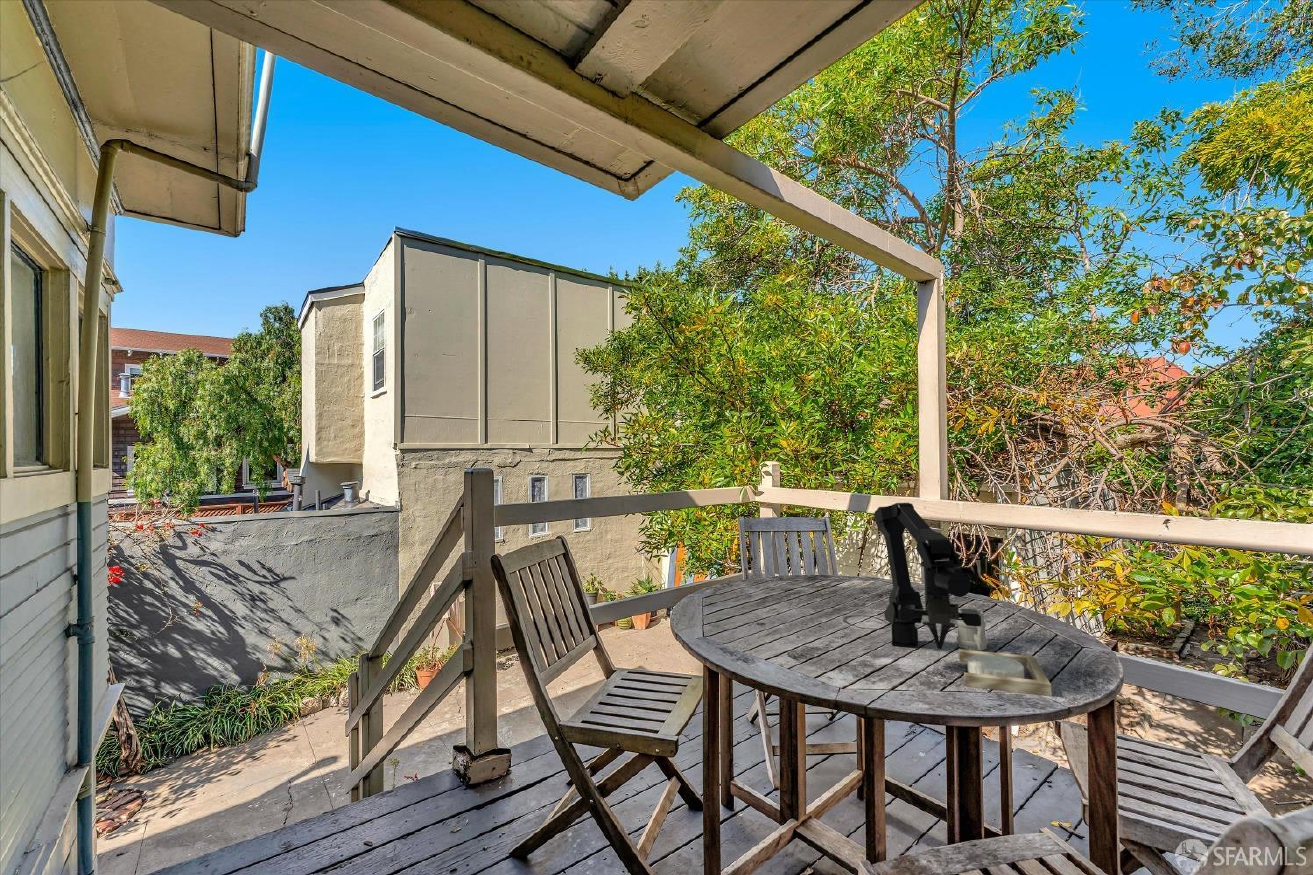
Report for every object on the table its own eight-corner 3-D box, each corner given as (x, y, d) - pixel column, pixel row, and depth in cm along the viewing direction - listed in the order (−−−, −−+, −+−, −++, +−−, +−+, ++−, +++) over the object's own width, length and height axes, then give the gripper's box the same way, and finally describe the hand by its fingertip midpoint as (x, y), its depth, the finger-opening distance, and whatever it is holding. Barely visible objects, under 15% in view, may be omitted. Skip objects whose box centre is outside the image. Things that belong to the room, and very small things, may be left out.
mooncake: (999, 664, 148) (998, 650, 148) (1037, 682, 136) (1036, 667, 136) (957, 668, 146) (956, 654, 146) (991, 687, 134) (991, 671, 135)
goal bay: (965, 685, 135) (964, 675, 135) (959, 658, 152) (958, 649, 152) (1051, 696, 128) (1051, 684, 128) (1035, 666, 145) (1034, 656, 146)
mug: (981, 642, 164) (979, 599, 165) (999, 656, 153) (996, 611, 153) (952, 641, 166) (950, 599, 166) (968, 656, 154) (966, 611, 154)
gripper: (896, 592, 143) (899, 655, 143) (982, 597, 136) (985, 664, 135) (897, 582, 154) (900, 641, 153) (977, 586, 146) (980, 648, 146)
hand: (939, 648), depth 147 cm, fingers closed
